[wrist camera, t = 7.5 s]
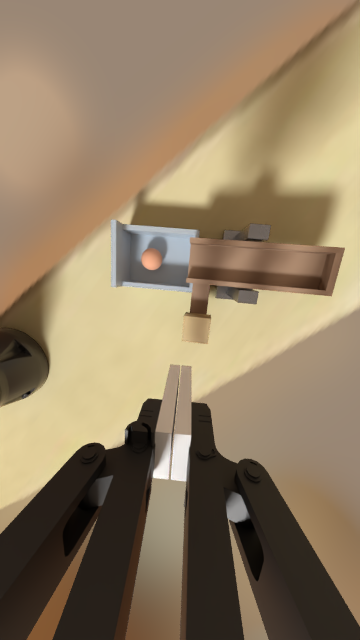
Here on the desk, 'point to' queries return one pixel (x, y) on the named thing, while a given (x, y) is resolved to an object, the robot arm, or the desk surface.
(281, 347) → the desk surface
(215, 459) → the robot arm
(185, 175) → the desk surface
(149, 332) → the desk surface
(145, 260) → the ball
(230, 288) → the fulcrum
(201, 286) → the lever
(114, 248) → the bin
